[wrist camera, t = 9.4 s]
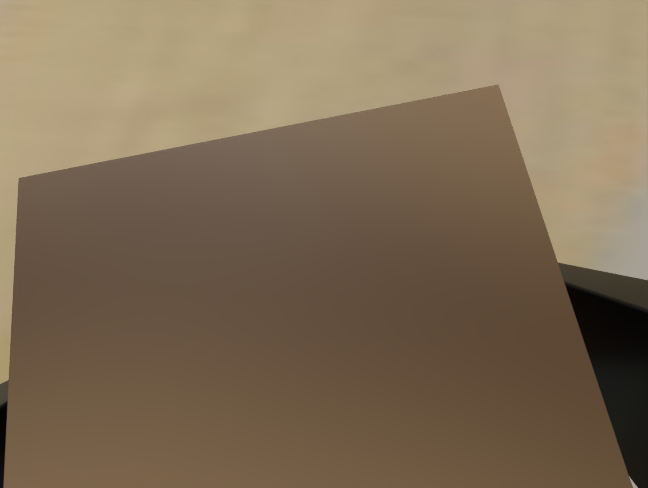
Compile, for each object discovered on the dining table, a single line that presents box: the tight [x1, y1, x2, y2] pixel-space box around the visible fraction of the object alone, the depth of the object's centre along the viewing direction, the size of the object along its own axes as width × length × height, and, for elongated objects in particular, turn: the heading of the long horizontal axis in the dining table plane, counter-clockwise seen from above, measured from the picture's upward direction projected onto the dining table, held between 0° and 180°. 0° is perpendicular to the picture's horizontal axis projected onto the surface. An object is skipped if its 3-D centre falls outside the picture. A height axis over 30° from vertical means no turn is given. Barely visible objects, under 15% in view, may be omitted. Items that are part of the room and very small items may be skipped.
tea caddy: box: [3, 85, 633, 488], centre depth 10 cm, size 4×6×12 cm
